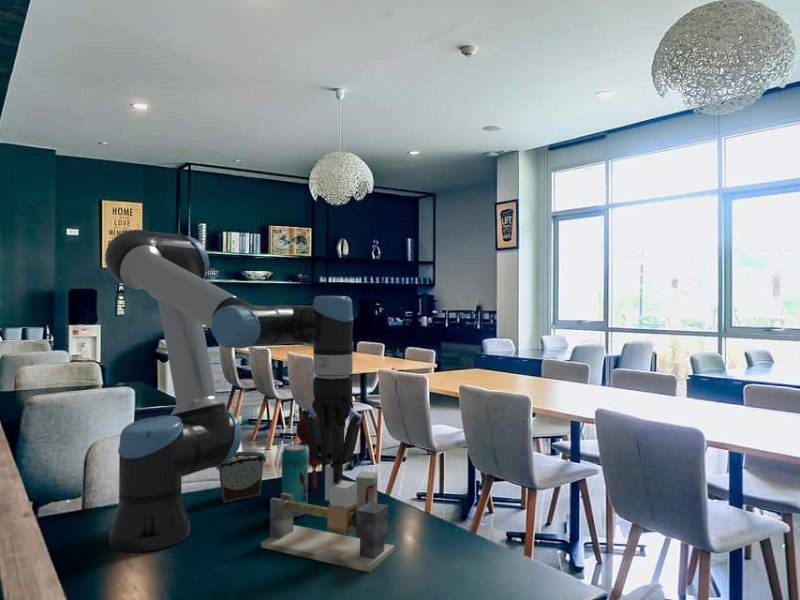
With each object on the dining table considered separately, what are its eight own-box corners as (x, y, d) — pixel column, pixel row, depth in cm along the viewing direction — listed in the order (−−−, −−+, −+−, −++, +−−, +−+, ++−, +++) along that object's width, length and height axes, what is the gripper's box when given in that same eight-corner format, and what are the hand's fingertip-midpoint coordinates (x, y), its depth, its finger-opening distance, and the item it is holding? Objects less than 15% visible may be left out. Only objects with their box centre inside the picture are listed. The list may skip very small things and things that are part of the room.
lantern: (320, 480, 158) (320, 368, 158) (340, 489, 151) (341, 371, 151) (288, 487, 152) (289, 370, 152) (308, 497, 145) (309, 374, 145)
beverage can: (302, 519, 130) (302, 450, 130) (277, 516, 131) (277, 449, 131) (311, 510, 136) (311, 444, 136) (287, 508, 137) (287, 443, 137)
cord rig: (260, 547, 115) (261, 498, 115) (291, 529, 124) (291, 484, 124) (369, 572, 105) (370, 518, 105) (394, 550, 114) (394, 501, 114)
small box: (373, 513, 134) (374, 478, 134) (355, 512, 135) (355, 477, 135) (377, 505, 139) (377, 471, 139) (359, 504, 140) (359, 471, 140)
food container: (254, 487, 152) (254, 448, 152) (265, 493, 147) (266, 453, 147) (207, 497, 144) (207, 456, 144) (217, 504, 139) (218, 461, 139)
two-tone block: (327, 530, 112) (327, 486, 112) (340, 522, 116) (341, 479, 116) (345, 534, 110) (346, 489, 110) (358, 525, 114) (358, 482, 114)
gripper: (293, 375, 113) (292, 499, 113) (352, 380, 108) (351, 509, 108) (315, 371, 120) (314, 488, 120) (371, 375, 115) (371, 497, 115)
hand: (332, 498), depth 114 cm, fingers closed
